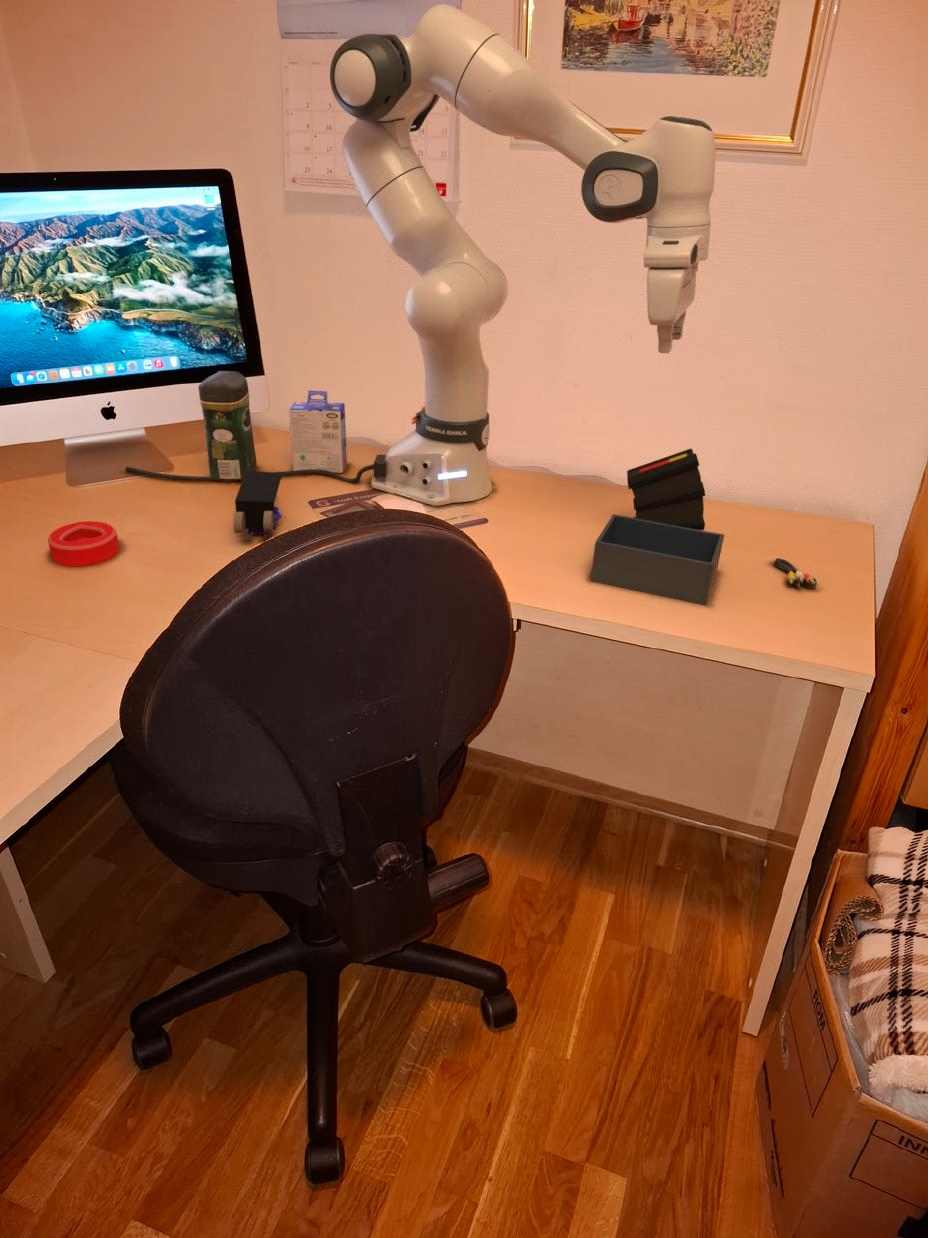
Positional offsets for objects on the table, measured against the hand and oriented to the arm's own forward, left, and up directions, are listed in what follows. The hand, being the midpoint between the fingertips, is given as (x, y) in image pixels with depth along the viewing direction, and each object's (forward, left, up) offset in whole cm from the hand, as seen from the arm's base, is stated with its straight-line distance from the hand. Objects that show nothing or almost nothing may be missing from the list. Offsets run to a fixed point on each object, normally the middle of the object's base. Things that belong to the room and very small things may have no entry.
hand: (670, 345), depth 129 cm
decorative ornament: (-77, -47, -31) cm, 95 cm away
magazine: (+3, -2, -31) cm, 31 cm away
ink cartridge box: (-63, 0, -31) cm, 70 cm away
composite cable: (+25, -8, -31) cm, 41 cm away
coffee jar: (-76, -10, -31) cm, 82 cm away
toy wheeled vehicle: (-58, -28, -31) cm, 71 cm away
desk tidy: (+5, -17, -31) cm, 35 cm away
